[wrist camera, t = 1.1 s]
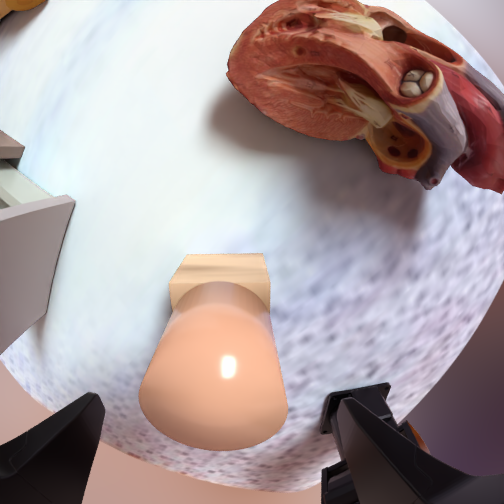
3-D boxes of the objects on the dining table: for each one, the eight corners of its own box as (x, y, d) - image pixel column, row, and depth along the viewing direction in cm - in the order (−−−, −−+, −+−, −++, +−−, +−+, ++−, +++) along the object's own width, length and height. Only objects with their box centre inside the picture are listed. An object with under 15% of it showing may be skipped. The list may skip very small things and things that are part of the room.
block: (262, 319, 19) (268, 363, 15) (193, 320, 19) (180, 362, 14) (262, 253, 18) (270, 282, 13) (186, 254, 18) (168, 283, 13)
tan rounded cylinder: (269, 364, 15) (282, 449, 9) (179, 364, 14) (157, 445, 9) (272, 280, 13) (293, 356, 7) (166, 281, 13) (121, 352, 7)
